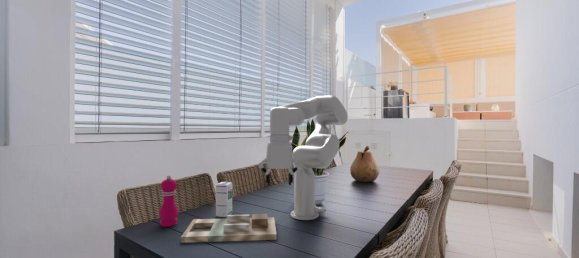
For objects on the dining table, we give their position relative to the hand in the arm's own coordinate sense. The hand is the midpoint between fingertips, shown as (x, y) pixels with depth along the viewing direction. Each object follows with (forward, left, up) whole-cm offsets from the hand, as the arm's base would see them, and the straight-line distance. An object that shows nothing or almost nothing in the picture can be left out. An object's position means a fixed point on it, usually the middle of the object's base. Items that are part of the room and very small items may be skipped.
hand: (279, 184), depth 109 cm
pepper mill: (+45, -10, -18) cm, 49 cm away
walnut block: (+8, 0, -16) cm, 18 cm away
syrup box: (+24, -20, -18) cm, 36 cm away
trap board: (+17, 0, -18) cm, 25 cm away
